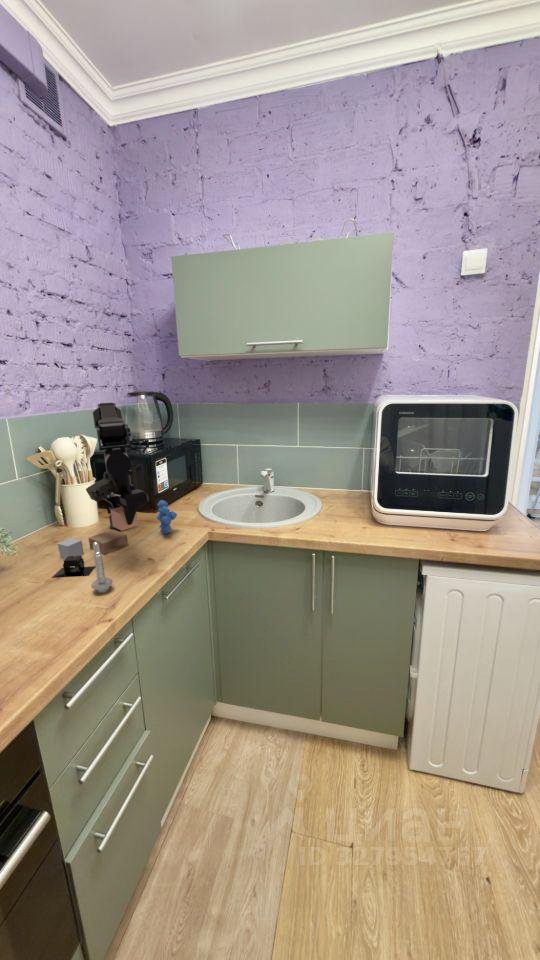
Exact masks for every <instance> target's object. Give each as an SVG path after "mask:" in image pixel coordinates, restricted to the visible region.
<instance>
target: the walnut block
mask: <svg viewBox="0 0 540 960" xmlns="http://www.w3.org/2000/svg"><path fill="white" fill-rule="evenodd" d="M94 542H97V543H99V549H100V550H101V555H102V556H106V555H109V554H111V553H114V552H116V551H119V550H121V549H123V548H126V547H128V546H129V541H128V534H127V533H124V532H121V531H117V530H115V529H113V528H111V529H108V530H106V531H103V532H101V533H99V534H96V535H92V536H90V537H88V543H89V548H90V550H91V551H94V549H93V543H94Z"/></svg>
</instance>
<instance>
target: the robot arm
mask: <svg viewBox="0 0 540 960" xmlns="http://www.w3.org/2000/svg"><path fill="white" fill-rule="evenodd" d="M122 414H123V413H122V410H121V409H120V408H118V407H117V405H116V403H115V402H101V403H98V404H97V408H96V409H95V410H93V411H92V415H93V423H94V429H96V435H97V441H98V442H97V443H98V448H99V449H98V450H99V451H104V452H103V457H104V463H105V470H106V471H104V472H103V474H102V477H103V478H102V479H99V480H98V481H96V482H94V483H93V484H91V485H90V486H88V487H87V488H85V491H86V492H87V494H88V496H89V498H90V499H91V500H92V501H94V502H96V503H97V502H101V501H102V500H105V503H106V505H105V506H106V508H107V509H106V510H107V515H109V516H108V519H109V528H110V529H113V530H116V531H119V532H121V530H119V529H117V528H115V527H113V524H112V517H111V509H114V508H118V507H122V508H123V510H124V514H125V517H126V521H127V524H128V525H131V524H132V522H133V520H134V517H135V514H136V512H138V509H139V507H140V505H141V504H142V503H147V502H148V501H149V494H148V493H147V492H146V491H145V490H142V489H136V488H135V484H132V483H131V482H132V481H131V475H133V474H134V473H133V470H131V466H132V463H131V459H130V457H129V456H128V452H127V449H128V448H132V444H133V438H132V432H131V431H132V430H131V428H130V427H129V425H128V424H127V423H126V424H125V421H124V418H123V415H122Z"/></svg>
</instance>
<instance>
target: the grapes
mask: <svg viewBox="0 0 540 960" xmlns="http://www.w3.org/2000/svg"><path fill="white" fill-rule="evenodd" d="M168 505H169V503H168V502H167V501H166V500H163V499H161V500H159V501H158V503H157V505H156V506H157V507H158V508H157V510H156V511H157V512H158V515H157V516H156V519H157V520H158V521H159V522H160V525H159V528H160V532H161V533H162V534H164V535H167V534H169V532H171V528H172V526H171V525H170V524H171V523H172V521H174V520H175V519H176V518H177V517H178V514H177V513H176V512H175V511H173V510H170V508H168Z"/></svg>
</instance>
